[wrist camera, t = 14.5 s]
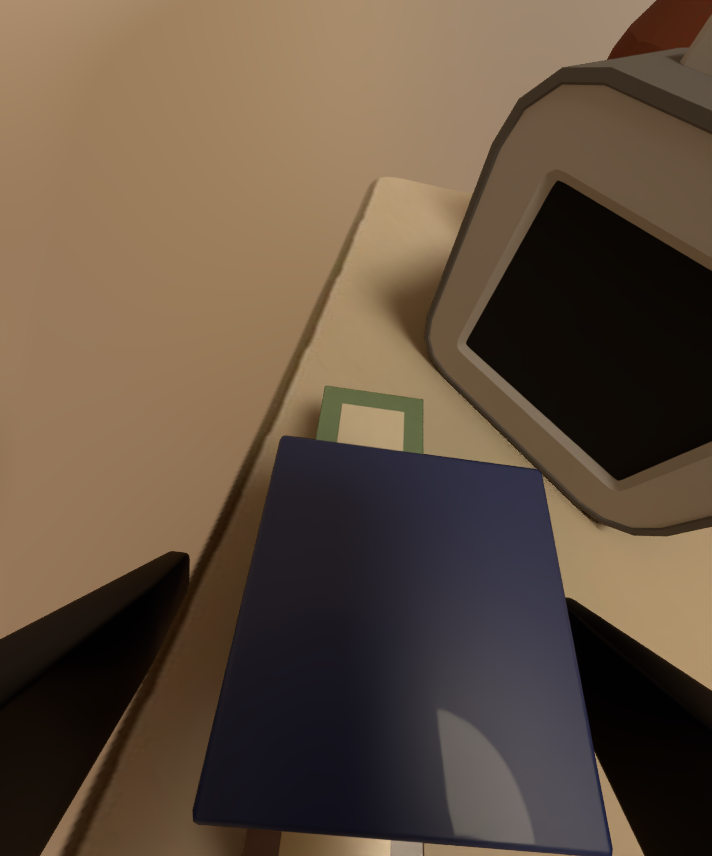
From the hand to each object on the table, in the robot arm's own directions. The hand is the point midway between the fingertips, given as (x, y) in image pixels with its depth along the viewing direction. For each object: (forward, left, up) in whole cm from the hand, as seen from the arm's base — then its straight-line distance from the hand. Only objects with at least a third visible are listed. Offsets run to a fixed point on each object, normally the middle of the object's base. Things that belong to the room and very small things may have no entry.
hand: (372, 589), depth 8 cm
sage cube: (+5, +4, -8) cm, 10 cm away
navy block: (0, 0, -8) cm, 8 cm away
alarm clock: (+19, -1, -8) cm, 21 cm away
